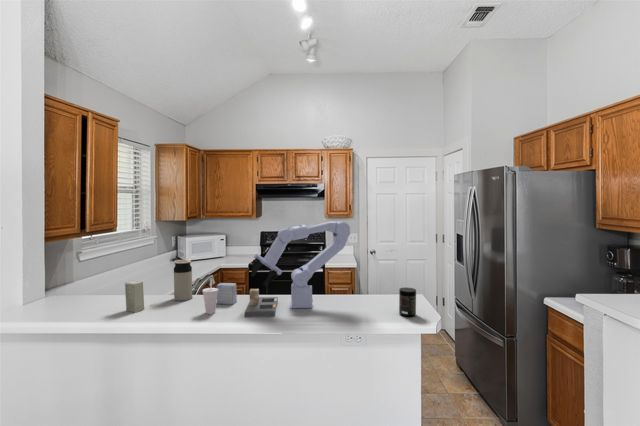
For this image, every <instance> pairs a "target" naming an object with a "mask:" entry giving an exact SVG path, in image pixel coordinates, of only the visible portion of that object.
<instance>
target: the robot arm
mask: <svg viewBox="0 0 640 426" xmlns="http://www.w3.org/2000/svg"><path fill="white" fill-rule="evenodd" d="M322 232H331V233H332V237H333V238H332V239H333V240H332V242H331V243H330V244H329V245H328V246H326V247H325V248H324V249H323V250H322V251H321V252H319V253H317V255H316V256H315V257H313V258H312V259H311V260H310V261H308V262H307V263H306V264H304V265H302V266H300V267H299V268H295V269H293V270H292V272H291V274H290V276H291V280H292V283H291V286H290V289H291V290H290V292H291V294H290V295H291V296H290V297H291V299H290V306H289V307H290V309H306V308H307V309H308V308H310V309H311V308H313V303H314V299H313V285H309V284H308V282H309V280H310V279H311V278H312V277H313V275H314V273H316V272H317V271H318V270H319V269H320V268H322V267H323V266H324V265H326V263H328V262H329V261H330V260H331V259H333V258H334V257H335V256H336V255H337V254H338V253H340V252H341V251H342V250H343V249H344V248H345V247H346V244H347V242H348V239H349V237H350V235H351V227H350V225H349V224H348V223H347V222H345V221H341V220H336V221H326V222H322V223H318V224H315V225H314V224H313V225H310V226H307V225H306V224H303V223H300V224H298V225H296V226H293V227H291V226H288V227H287V228H281V229H280V230H279V231H278V232H277V236H276V238H275V240H274V241H272V244H271V245H270V247H269V249H268V251H267V252H266V254H265V256H264V257H263V256H261V255H259V254H257V253H256V254H255V255H254V257H253V260H252V269H251V273H250V275H249V276H250V277H252V278H254V277H255V276H256V275H257V273H258V271H259V270H260V268H261V267H262V266H263V265H264V266H265V267H267V268H269V269H270V270H269V272H268V275H267V277H266V279H265V280H264V282H263V284H262V286H263V287H267V286H268V285H269V284H270V283H271V282H272V281H273V280H275V279H276V278H278V277H279V276H281V275H282V273H283V270H281V268H279V267H278V266H276V264H277V263H278V261H279V259H280V257H281V256H282V254H283V252H284V251H285V250H286V246H287V245H288V244H289V243H291V241H296V240H302V239H306V238H308V237H309V235H310V234H316V233H322Z"/></svg>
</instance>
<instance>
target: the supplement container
mask: <svg viewBox="0 0 640 426" xmlns="http://www.w3.org/2000/svg"><path fill="white" fill-rule="evenodd" d="M398 290H399V292H398V295H399V297H398V298H399V299H398V302H399V305H398V308H399V309H398V315H400V316H401V317H404V318H413V316H414V317H415V316H416V315H417V289H416V288H413V287H400V288H399V289H398Z"/></svg>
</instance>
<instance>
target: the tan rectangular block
mask: <svg viewBox="0 0 640 426" xmlns="http://www.w3.org/2000/svg"><path fill="white" fill-rule="evenodd" d="M249 289H250V290H249V302H250V305H258V303H259V297H260V289H259V288H249Z"/></svg>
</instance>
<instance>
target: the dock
mask: <svg viewBox="0 0 640 426" xmlns="http://www.w3.org/2000/svg"><path fill="white" fill-rule="evenodd" d="M278 301H279V297H278V296H266V297H265V296H263V297H261V296H259V303H258V305H250V301H249V302H248V304H247V306H246V309H245V310H244V317H275V316H276V311H277V306H278V303H279V302H278Z"/></svg>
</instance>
